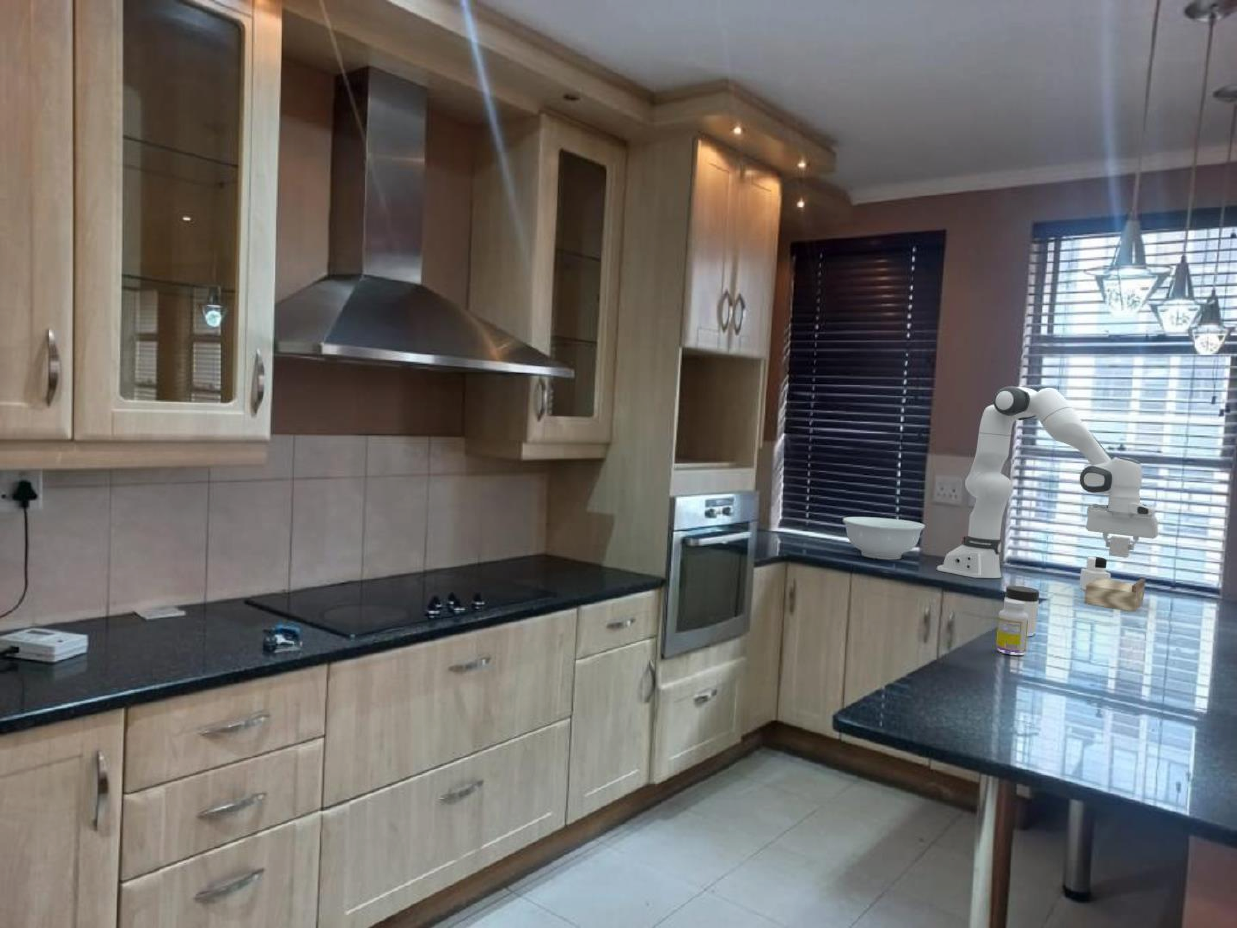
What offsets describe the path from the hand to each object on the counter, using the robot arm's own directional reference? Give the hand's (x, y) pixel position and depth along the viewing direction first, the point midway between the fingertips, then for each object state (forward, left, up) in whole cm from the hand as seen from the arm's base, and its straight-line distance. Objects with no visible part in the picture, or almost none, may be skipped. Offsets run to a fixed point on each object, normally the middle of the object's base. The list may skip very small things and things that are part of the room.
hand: (1119, 548), depth 280 cm
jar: (-12, -73, -18) cm, 76 cm away
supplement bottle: (-8, -98, -18) cm, 100 cm away
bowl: (-87, +20, -18) cm, 91 cm away
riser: (0, 0, -18) cm, 18 cm away
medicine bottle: (-9, +19, -18) cm, 28 cm away
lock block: (0, 0, -2) cm, 2 cm away
